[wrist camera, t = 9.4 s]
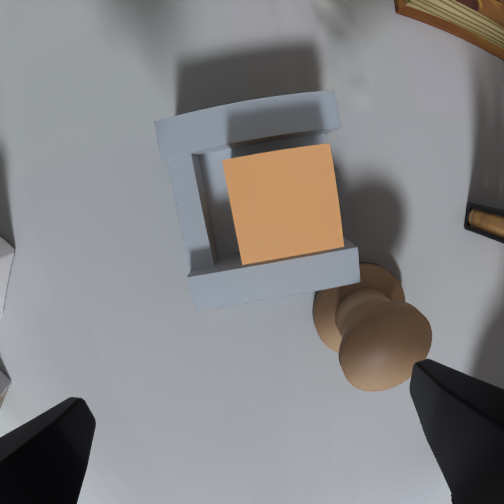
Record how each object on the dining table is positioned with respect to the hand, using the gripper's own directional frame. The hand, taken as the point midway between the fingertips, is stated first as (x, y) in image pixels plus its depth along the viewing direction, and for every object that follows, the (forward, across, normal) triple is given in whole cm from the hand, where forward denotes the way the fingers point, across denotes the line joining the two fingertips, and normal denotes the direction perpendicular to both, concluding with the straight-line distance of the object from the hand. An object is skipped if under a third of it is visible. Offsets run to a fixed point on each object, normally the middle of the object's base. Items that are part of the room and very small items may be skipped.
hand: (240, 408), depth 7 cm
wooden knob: (+12, -6, +4) cm, 14 cm away
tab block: (+11, -2, -4) cm, 12 cm away
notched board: (+12, -1, -4) cm, 12 cm away
